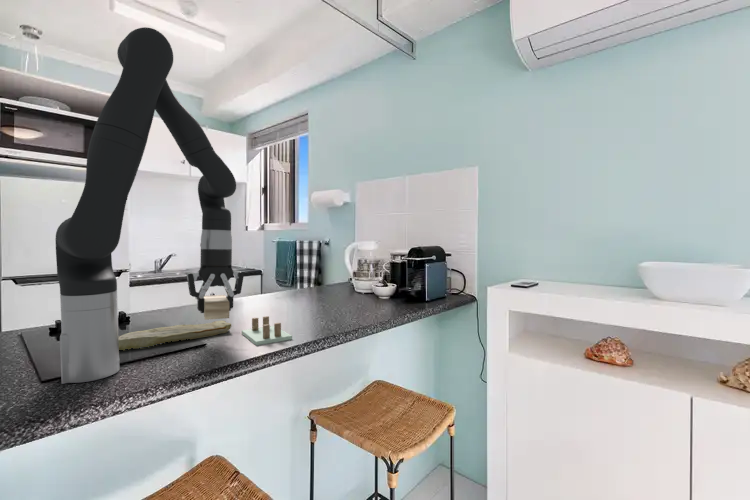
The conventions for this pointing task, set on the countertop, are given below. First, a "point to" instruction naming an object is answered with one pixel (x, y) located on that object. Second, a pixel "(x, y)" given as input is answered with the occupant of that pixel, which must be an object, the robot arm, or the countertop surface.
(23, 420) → the countertop surface
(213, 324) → the stone slab
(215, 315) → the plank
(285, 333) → the peg stand
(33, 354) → the countertop surface
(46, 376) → the countertop surface
